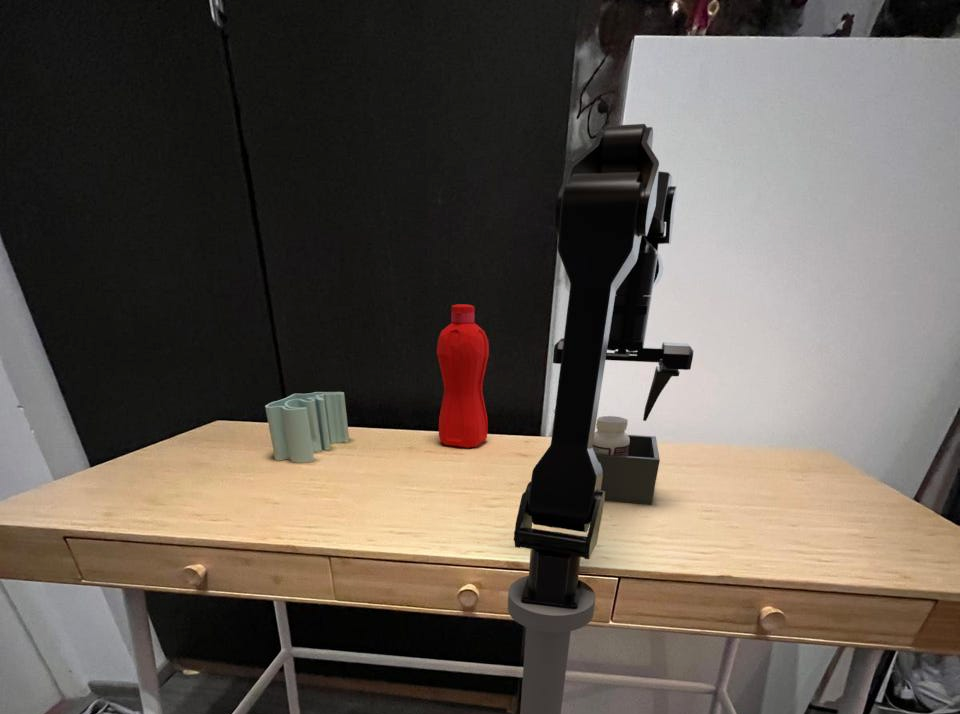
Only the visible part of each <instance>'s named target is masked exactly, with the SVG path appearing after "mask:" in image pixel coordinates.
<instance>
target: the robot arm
mask: <svg viewBox="0 0 960 714" xmlns="http://www.w3.org/2000/svg"><path fill="white" fill-rule="evenodd" d="M653 142H654V129H653V126H647V125H646V123H635V124H634V123H633V124H619V125H616V124H615V125H606V127H605V128H604V129H599V130H598V132H597V135H596V138H595V140H594V143H593V144H592V145H591V147H589V148H588V149H586V151H584V152H583V153H582V154H581V155H579V156H578V157H577V158H576V159H575V160H573V161H572V162H571V163H570V164H569V165H568V167H567V169H566V172H565V174H564V177H563V180H562V183H561V186H560V188H559V190H558V194H557V199H556V203H555V211H554V212H555V213H554V226H555V233H556V236H558V239H557V251H558V252H557V253H558V255H559V257H560V260H561V262H562V266H563V268H564V270H565V273H566V276H567V279H568V281H569V292H568V293H569V294H568V301H567V302H568V304H567V309H566V317H565V325H564V326H565V327H564V333H563V338H560V339H559V340H557V342H556V343H555V344H554V346H553V355H552V363H553V364H558V365H560V367H559V376H558V383H557V392H556V398H555V399H556V400H555V409H554V416H553V424H552V433H551V440H550V445H549V446H548V447H547V449H546V451H545V452H544V454H543V455H542V456H541V457H540V459H539V460H538V461H537V463H536V464H535V466H533V469H532V472H531V477H530V478H531V479H530V481H529V482H528V483H527V485H526V488H525V492H523V493H522V494H521V498H520V502H519V506H518V510H517V515H516V520H515V527H514V532H513V542H514V548H518V549H520V548H523V549H529V550H530V553H529V567H528V575H527V576H528V578H527V581H526V584H525V588H524V591H523V594H522V597H521V602H522V603H525V604H533V605H541V606H550V607H558V608H567V609H577V608H578V603H579V596H580V590H581V581H582V580H581V581H579V580H580V579H579V576H580V567H581V559H582V558H583V559H586V560H590V558H591V556H592V554H593V552H594V550H595V548H596V546H597V544H598V541H599V540H598V539H599V535H600V534H599V533H600V529H601V524H602V517H603V512H604V507H605V491H601V485H602V477H603V470H602V467H601V464H600V462H598V460H597V458H596V455H595V453H594V450H593V440H594V433H595V432H596V427H597V426H596V424H597V419H598V412H599V406H600V398H601V392H602V386H603V380H604V373H605V367H606V361H615V362H616V361H619V362H636V363H637V362H640V363H658V365H656V366H655V370H654V374H653V377H652V382H651V384H650V385H651V386H650V389H649V393H648V396H647V399H646V403H645V406H644V410H643V417H642V420H643V422H647V420H648V418H649V416H650V414H651V412H652V411H653V408H654V406H655V404H656V402H657V400H658V399H659V397H660V396H661V394H662V392H663V390H664V389H665V387H666V386H667V384H668V383H669V381H670V379H671V378H672V377H680V373H681V372H680V370H681V371H682V370H683V371H688V370H689V371H690V370H691V368H692V364H693V360H694V359H693V358H694V349H693V348H692V347H691V345H690V344H689V343H687V342H666V341H665V342H664V341H662V343H661V347H645V341H646V336H647V329H648V323H649V315H650V310H651V302H652V296H653V295H652V294H653V290H654V289H655V288H656V287H657V286H658V284H659V283H660V281H661V279H662V276H663V273H664V262H663V259H662V256H661V254H660V253H659V247H660V246H659V245H671V243H672V237H673V226H674V220H675V219H674V218H675V210H676V201H677V193H678V191H677V190H678V188H677V187H678V186H677V185H675V186H674V185H673V176H672V175H671V174H670V172H669V171H668V172H667V171H661V170H660V171H659V169H660V161H659V159H658V157H657V156H656V154H655V153H654V152H653ZM608 351H612V352H608ZM533 525H536V526H542V527H549V528H555V529H561V530H568V531H575V532H581V533H587V535H586V536H585V535H578V534H571V533H566V532H558V531H553V530H546V529H539V528H533Z"/></svg>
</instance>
